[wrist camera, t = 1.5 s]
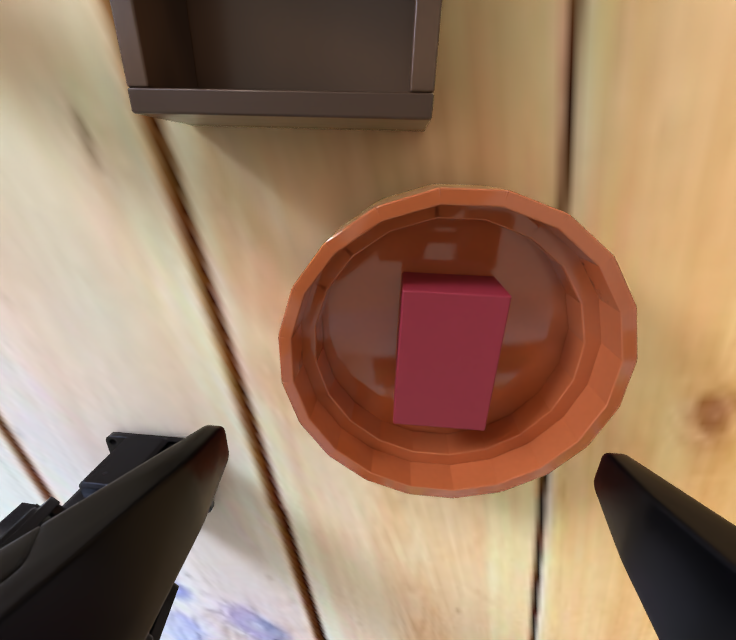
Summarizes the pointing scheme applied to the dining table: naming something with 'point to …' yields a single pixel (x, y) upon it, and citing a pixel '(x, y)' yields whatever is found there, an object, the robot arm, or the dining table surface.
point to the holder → (281, 62)
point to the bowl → (518, 353)
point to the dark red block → (448, 349)
